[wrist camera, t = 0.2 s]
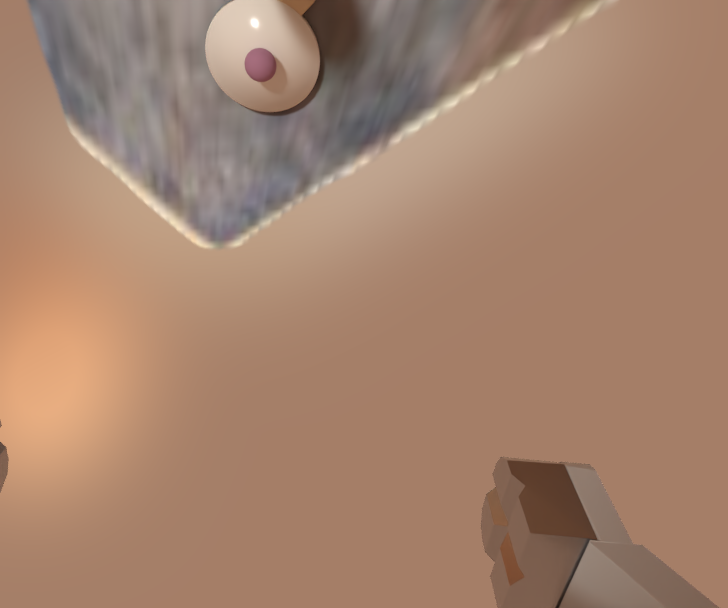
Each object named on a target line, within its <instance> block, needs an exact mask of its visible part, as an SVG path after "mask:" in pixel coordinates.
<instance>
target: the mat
mask: <svg viewBox="0 0 728 608" xmlns="http://www.w3.org/2000/svg"><path fill="white" fill-rule="evenodd" d="M279 1H281V2H283V3H285V4H287V5H288V6H290V7H291V8H293V9H294V10H295V11H296V12H297V13H299V14H300V15H301V16H302V15H303V14H304V13H305V11H306V10H307V9H308V8H309V7H310V6H311V5H312V4H313V3H314V2H315V1H316V0H279Z"/></svg>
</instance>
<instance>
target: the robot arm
mask: <svg viewBox="0 0 728 608" xmlns="http://www.w3.org/2000/svg"><path fill="white" fill-rule="evenodd" d="M1 426H2V425H1V421H0V427H1ZM7 471H8V456H7V449H6V447H5V446H4V445H3V444H2V443H1V442H0V492H1V489H2V487H3V484H4V481H5V478H6V476H7ZM493 477H494V481H495V485H496V487H495V488H494V489H493V490H491V491H490V492H488V493H487V494H486V497H485V501H484V505H483V508H482V520H481V530H482V539H483V545H484V549H485V552H486V553H487V554H488V555H489V557H490V558H491V559H492V560H493V561H494V562H495V564H494V567H493V570H492V573H491V580H492V585H493V589H494V594H495V598H496V602H497V607H498V608H719V607H718V606H717V605H715V604H714V603H713V602H712V601H710V600H709V599H708V598H707V597H705V596H704V595H703V594H702V593H701V592H699V591H698V590H697V589H696V588H694V587H693V586H692V585H691V584H689V583H688V582H687V581H686V580H685V579H683V578H682V577H681V576H680V575H678V574H677V573H676V572H675V571H674V570H672V569H671V568H670V567H669V566H667V565H666V564H665V563H664V562H663V561H661V560H660V559H659V558H658V557H656V556H655V555H654V554H653V553H651V552H650V551H649V550H648V549H647V548H645V547H644V546H643V545H635V544H633V543H632V541H631V539H630V537H629V535H628V533H627V531H626V529H625V527H624V525H623V523H622V521H621V519H620V517H619V515H618V513H617V511H616V510H615V507H614V506H613V504H612V502H611V500H610V498H609V496H608V494H607V492H606V490H605V488H604V486H603V484H602V482H601V480H600V478H599V476H598V474H597V472H596V470H595V469H594V468H593V467H592V466H591V465H589V464H579V463H567V462H559V463H557V462H550V461H539V460H528V459H517V458H507V457H501V458H500V459H499V460H498V462H497V463H496V466H495V469H494V472H493Z"/></svg>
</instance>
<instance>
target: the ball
mask: <svg viewBox="0 0 728 608" xmlns="http://www.w3.org/2000/svg"><path fill="white" fill-rule="evenodd" d="M244 64H245V70H246V72H247V74H248V75H249V77H250V78H252V79H253V80H255V81H257V82H266V81H268V80H270V79H271V78H272V77H273V76H274V74H275V72H276V67H277V66H276V60H275V58H274V56H273V55H272V53H271V52H269V51H268V50H266V49H264V48H255V49H253V50H251V51H250V52H249V53H248V54H247V56H246V58H245V63H244Z"/></svg>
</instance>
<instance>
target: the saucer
mask: <svg viewBox="0 0 728 608" xmlns="http://www.w3.org/2000/svg"><path fill="white" fill-rule="evenodd" d="M255 48H264V49H266V50H268V51H269V52H271V53H272V55H273V56H274V58H275V60H276V66H277V67H276V72H275V74H274V76H273V77H272V78H271V79H270V80H268V81H266V82H257V81H255V80H253V79H252V78H250V77H249V75H248V74H247V72H246V70H245V64H244V63H245V58H246V56H247V54H248V53H249V52H250V51H251V50H253V49H255ZM205 51H206V59H207V63H208V66H209V69H210V72H211V73H212V75H213V77H214V79H215V81H216V82H217V84H218V85H219V86H220V88H221V89H222V90H223V91H224V92H225V93H226V94H227V95H228V96H229V97H230V98H232V99H233V100H234V101H236V102H238V103H239V104H241V105H243V106H245V107H247V108H250V109H253V110H257V111H261V112H278V111H283V110H287V109H289V108H292V107H294V106H296V105H297V104H299V103H300V102H301V101H303V100H304V99H305V98H306V97H307V96H308V95H309V93H310V92H311V90H312V89H313V87H314V85H315V83H316V80H317V77H318V73H319V67H320V50H319V45H318V41H317V39H316V36H315V33H314V31H313V29H312V28H311V26H310V25H309V23H308V21H307V20H306V19H305V18H304V17H303V15H302V16H301V15H300V14H299V13H297V12H296V11H295V10H294V9H293V8H291V7H290V6H288V5H287V4H285V3H283V2H281V1H279V0H232V1H230V2H228V3H227V4H226V5H224V6H223V7H222V8H221V9H220V10H219V11H218V12H217V14H216V15H215V17H214V18H213V20H212V22H211V24H210V26H209V29H208V32H207V36H206V42H205Z"/></svg>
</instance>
